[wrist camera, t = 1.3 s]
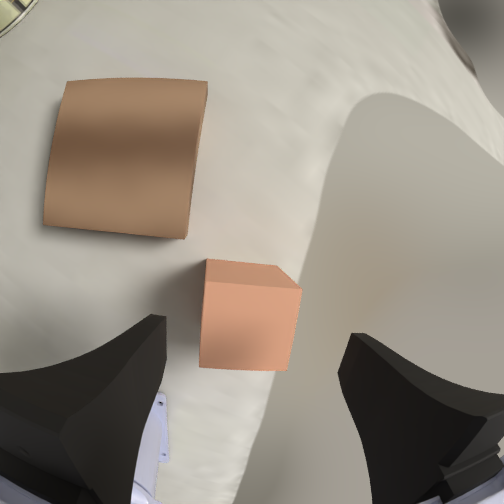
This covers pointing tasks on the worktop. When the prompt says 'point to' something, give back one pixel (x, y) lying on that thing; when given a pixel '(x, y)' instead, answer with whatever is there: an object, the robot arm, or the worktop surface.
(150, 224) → the walnut base
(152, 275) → the worktop surface
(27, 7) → the coffee can
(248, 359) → the terracotta block
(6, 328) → the worktop surface
